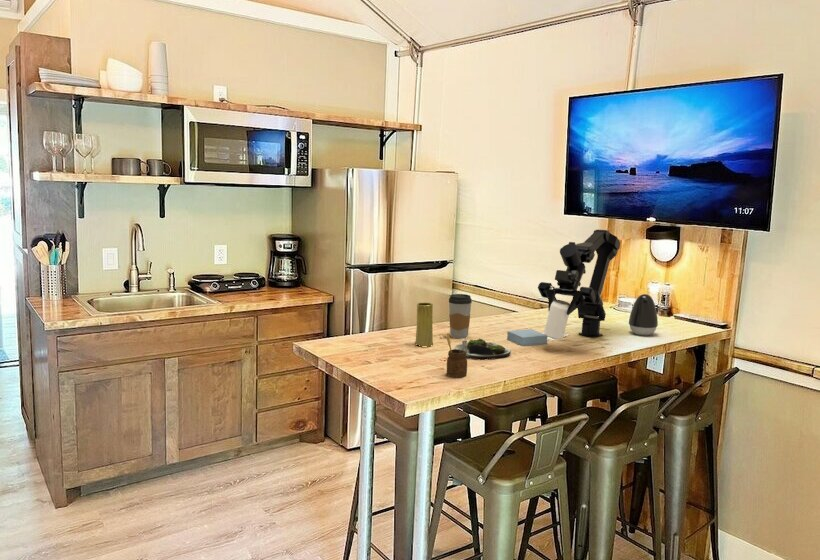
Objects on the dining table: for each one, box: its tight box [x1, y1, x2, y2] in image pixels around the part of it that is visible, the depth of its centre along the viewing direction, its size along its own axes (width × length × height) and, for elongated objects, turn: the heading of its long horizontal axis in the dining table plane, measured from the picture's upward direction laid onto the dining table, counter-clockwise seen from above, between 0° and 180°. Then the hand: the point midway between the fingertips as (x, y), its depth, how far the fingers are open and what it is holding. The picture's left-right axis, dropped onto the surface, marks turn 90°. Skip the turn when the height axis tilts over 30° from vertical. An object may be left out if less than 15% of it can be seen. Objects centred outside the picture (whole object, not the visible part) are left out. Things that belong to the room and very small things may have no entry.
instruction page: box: [541, 331, 570, 341], centre depth 237 cm, size 12×9×1 cm
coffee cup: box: [448, 293, 473, 339], centre depth 232 cm, size 8×8×15 cm
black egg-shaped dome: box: [628, 293, 659, 336], centre depth 241 cm, size 10×10×15 cm
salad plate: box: [454, 338, 511, 361], centre depth 213 cm, size 19×18×5 cm
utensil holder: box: [445, 333, 468, 378], centre depth 187 cm, size 6×6×12 cm
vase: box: [414, 302, 434, 347], centre depth 220 cm, size 6×6×14 cm
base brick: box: [506, 328, 548, 347], centre depth 228 cm, size 10×10×3 cm
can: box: [543, 298, 571, 340], centre depth 214 cm, size 6×6×12 cm
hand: (558, 313), depth 212 cm, fingers closed on can, 6 cm apart
